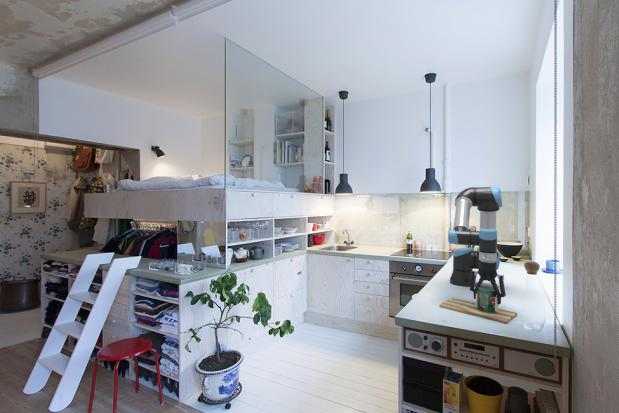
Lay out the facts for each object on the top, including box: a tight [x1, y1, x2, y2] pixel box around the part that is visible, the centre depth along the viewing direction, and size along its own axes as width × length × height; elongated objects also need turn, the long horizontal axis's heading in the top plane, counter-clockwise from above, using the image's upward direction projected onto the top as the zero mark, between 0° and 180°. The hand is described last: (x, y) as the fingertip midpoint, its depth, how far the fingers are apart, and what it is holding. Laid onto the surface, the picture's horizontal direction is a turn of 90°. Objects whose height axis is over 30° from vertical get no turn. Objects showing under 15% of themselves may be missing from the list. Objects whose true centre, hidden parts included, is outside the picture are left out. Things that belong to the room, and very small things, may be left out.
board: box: [439, 297, 518, 325], centre depth 156 cm, size 16×30×1 cm, turn 43°
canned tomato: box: [477, 285, 497, 314], centre depth 152 cm, size 8×8×11 cm
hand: (486, 308), depth 152 cm, fingers closed on canned tomato, 8 cm apart
